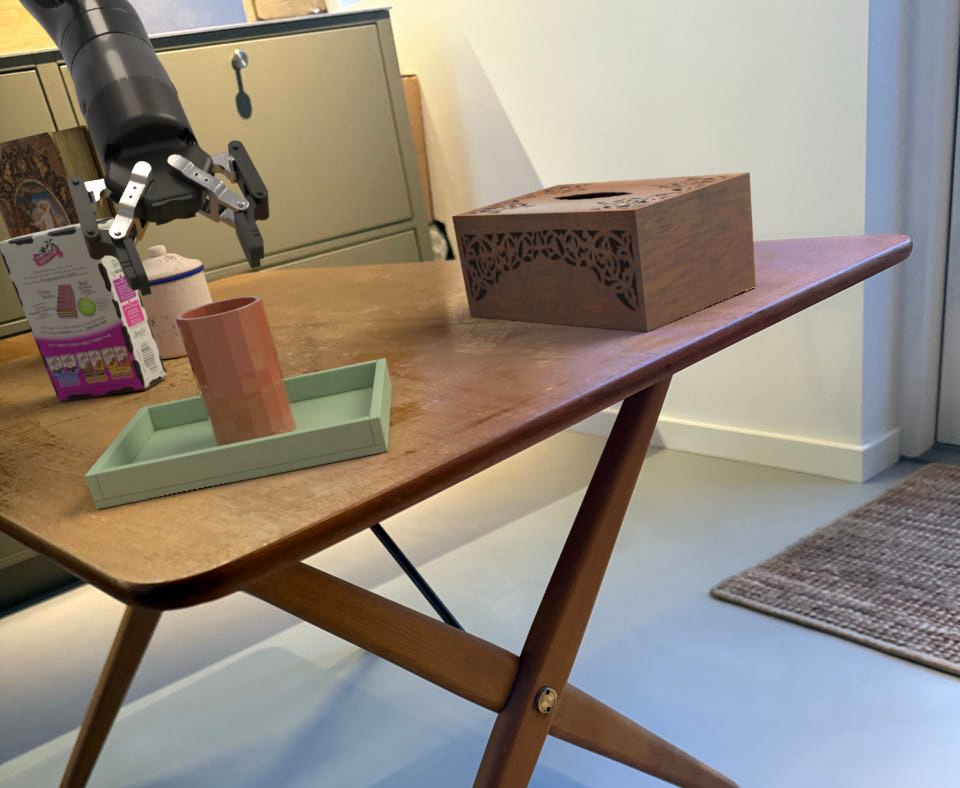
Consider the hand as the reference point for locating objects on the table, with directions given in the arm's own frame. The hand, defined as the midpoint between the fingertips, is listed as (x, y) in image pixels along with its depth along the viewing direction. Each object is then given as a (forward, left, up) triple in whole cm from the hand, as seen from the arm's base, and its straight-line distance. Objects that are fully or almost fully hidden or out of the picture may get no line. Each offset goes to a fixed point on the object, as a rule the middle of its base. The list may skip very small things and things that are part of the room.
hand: (201, 274), depth 78 cm
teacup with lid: (-15, +43, -13) cm, 47 cm away
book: (-27, +53, -13) cm, 61 cm away
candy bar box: (-19, +29, -13) cm, 37 cm away
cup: (+1, -2, -12) cm, 12 cm away
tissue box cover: (+33, +23, -13) cm, 42 cm away
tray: (+1, -2, -13) cm, 13 cm away
